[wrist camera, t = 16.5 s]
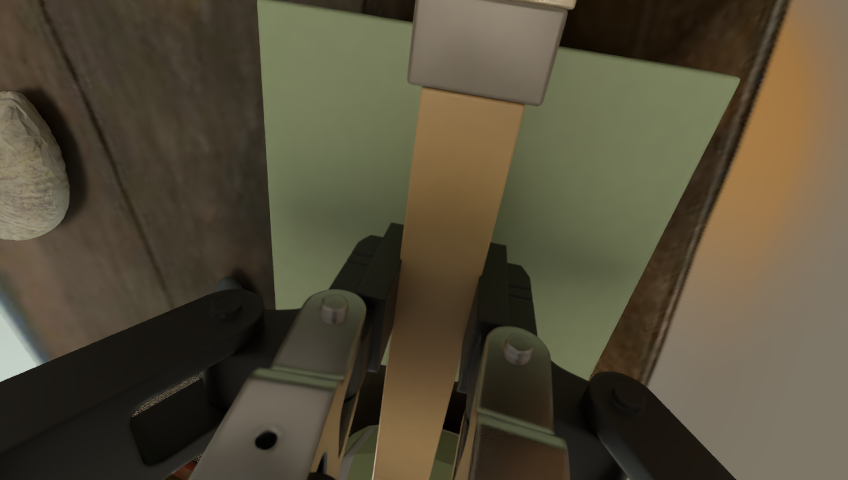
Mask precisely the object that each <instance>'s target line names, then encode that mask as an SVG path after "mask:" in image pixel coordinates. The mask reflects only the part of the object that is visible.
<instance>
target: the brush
mask: <svg viewBox="0 0 848 480" xmlns="http://www.w3.org/2000/svg"><path fill="white" fill-rule="evenodd" d="M575 4H576V0H415V8H414V17H413V26H412V36H411V45H410V54H409V64H408V73H407V82H408V83H409V84H411V85H416V86H422V87H423V88H422V89H421V94H420V102H419V110H418V118H417V126H416V134H415V142H414V150H413V158H412V166H411V174H410V182H409V190H408V198H407V206H406V214H405V222H404V230H403V237H402V245H401V253H400V259H401V260H402V262H401V269H400V277H399V285H398V292H397V300H396V308H395V315H394V323H393V329H392V332H391V335H390V341H389V349H388V357H387V365H386V373H385V381H384V389H383V397H382V405H381V413H380V421H379V429H378V437H377V444H376V452H375V460H374V468H373V476H372V480H429V478H430V474H431V470H432V466H433V462H434V459H435V455H436V451H437V447H438V443H439V439H440V435H441V431H442V428H443V424H444V420H445V416H446V412H447V408H448V404H449V401H450V397H451V393H452V389H453V385H454V381H455V377H456V373H457V370H458V366H459V362H460V358H461V350H462V342H463V338H464V334H465V331H466V327H467V323H468V319H469V315H470V311H471V307H472V303H473V299H474V296H475V292H476V288H477V284H478V280H479V276H481V275H482V273H483V269H484V265H485V261H486V257H487V254H488V250H489V246H490V242H491V238H492V234H493V230H494V226H495V223H496V219H497V215H498V211H499V207H500V203H501V199H502V195H503V192H504V188H505V184H506V180H507V176H508V172H509V168H510V165H511V161H512V157H513V153H514V149H515V145H516V141H517V137H518V134H519V130H520V126H521V122H522V118H523V114H524V110H525V105H524V104H526V105H532V106H541V105H542V104H543V101H544V98H545V94H546V91H547V87H548V83H549V80H550V76H551V73H552V69H553V66H554V62H555V58H556V55H557V51H558V48H559V44H560V41H561V37H562V33H563V30H564V26H565V23H566V19H567V15H568V13H567V10H571V9H573V8H574V7H575Z"/></svg>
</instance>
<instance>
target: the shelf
mask: <svg viewBox="0 0 848 480" xmlns="http://www.w3.org/2000/svg"><path fill="white" fill-rule="evenodd" d="M257 7H258V24H259V40H260V56H261V73H262V89H263V106H264V122H265V138H266V155H267V171H268V187H269V204H270V220H271V236H272V253H273V269H274V286H275V302H276V310H285V309H297V308H301V307H302V305H303V304H304V302H305V301H306V300H307V299H308V298H309V297H310V296H312V295H313V294H315V293H317V292H320V291H324V290H328V289H329V288H330V286H331V284H332V283H333V281H334V280H335V278H336V276H337V275H338V273H339V272H340V270H341V268H342V267H343V265H344V264H345V262H347V259H348V257H349V256H350V254H352V251H353V249H354V248H355V246H356V245H357V243H358V242H359V241H361V240H362V239H364V238H366V237H367V236H369V235H374V236H379V237H384V235H385V233H386V231H387V229H388V227H389V225H390V223H391V222H393V223H398V224H403V225H404V222H405V214H406V206H407V198H408V190H409V182H410V174H411V166H412V158H413V150H414V142H415V134H416V126H417V118H418V110H419V102H420V94H421V89H422V88H423V87H422V86H416V85H411V84H409V83H408V82H407V73H408V64H409V54H410V45H411V36H412V26H413V22H409V21H403V20H397V19H391V18H385V17H379V16H373V15H366V14H360V13H354V12H348V11H342V10H336V9H330V8H324V7H318V6H312V5H306V4H300V3H294V2H288V1H281V0H258V1H257ZM739 82H740V78H738V77H736V76H732V75H727V74H723V73H718V72H713V71H707V70H701V69H694V68H688V67H682V66H676V65H670V64H664V63H658V62H652V61H646V60H640V59H634V58H628V57H622V56H615V55H609V54H603V53H597V52H591V51H585V50H579V49H573V48H567V47H561V46H559V48H558V51H557V55H556V58H555V62H554V66H553V69H552V73H551V76H550V80H549V83H548V87H547V91H546V94H545V98H544V101H543V104H542V105H541V106H532V105H526V104H524V105H525V110H524V114H523V118H522V122H521V126H520V130H519V134H518V137H517V141H516V145H515V149H514V153H513V157H512V161H511V165H510V168H509V172H508V176H507V180H506V184H505V188H504V192H503V195H502V199H501V203H500V207H499V211H498V215H497V219H496V223H495V226H494V230H493V234H492V238H491V242H492V243H497V244H502V245H506V246H507V263H511V264H516V265H521V266H522V267H523V268H524V270H525V271H526V272H527V274H528V275H529V277H530V281H531V291H532V296H533V304H534V312H535V319H536V327H537V335H538V338H539V339H541V340H542V341H543V343H544V344H545V345H546V346H547V348H548V350H549V352H550V357H551V360H552V361H553V362H554V363H555V364H557V365H558V366H560V367H561V368H563V369H565V370H566V371H568V372H570V373H573V374H575V375H577V376H579V377H581V378H583V379H585V380H587V381H588V380H589V378H590V376H591V374H592V372H593V370H594V368H595V366H596V364H597V362H598V360H599V358H600V356H601V354H602V352H603V350H604V348H605V346H606V344H607V342H608V340H609V338H610V336H611V334H612V332H613V330H614V328H615V326H616V325H617V323H618V321H619V319H620V317H621V315H622V313H623V311H624V309H625V307H626V305H627V303H628V301H629V299H630V297H631V295H632V293H633V291H634V289H635V287H636V285H637V283H638V281H639V279H640V277H641V275H642V273H643V271H644V269H645V267H646V265H647V263H648V261H649V260H650V258H651V256H652V254H653V252H654V250H655V248H656V246H657V244H658V242H659V240H660V238H661V236H662V234H663V232H664V230H665V228H666V226H667V224H668V222H669V220H670V218H671V216H672V214H673V212H674V210H675V208H676V206H677V204H678V202H679V200H680V198H681V196H682V194H683V193H684V191H685V189H686V187H687V185H688V183H689V181H690V179H691V177H692V175H693V173H694V171H695V169H696V167H697V165H698V163H699V161H700V159H701V157H702V155H703V153H704V151H705V149H706V147H707V145H708V143H709V141H710V139H711V137H712V135H713V133H714V131H715V129H716V128H717V126H718V124H719V122H720V120H721V118H722V116H723V114H724V112H725V110H726V108H727V106H728V104H729V102H730V100H731V98H732V96H733V94H734V92H735V90H736V88H737V86H738V84H739ZM389 341H390V338H389ZM389 341H388V344H387V347H386V350H385V353H384V356H383V359H382V361H381V365H387V357H388V349H389ZM460 360H461V358H460ZM459 369H460V362H459V366H458V370H457V373H456V377H455V381H456V382H458V378H459Z"/></svg>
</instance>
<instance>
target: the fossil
mask: <svg viewBox="0 0 848 480" xmlns="http://www.w3.org/2000/svg"><path fill="white" fill-rule="evenodd" d="M65 167H66V165H65V162H64V160H63V158H62V156H61V150H60V147H59V145H58V144H57V142H56V140H55V138H54V137H53V135H52V134H51V129H50V128H49V127H48V125H47V123H46V122H45V121H44V120H43V119H42V117H41V116H40V114H39V113H38V111H37V110H36V108H35V107H34V105H33V104H31V103H30V102H29V101H28V100H27V98H26V97H25V96H24V95H23V94H22V93H19V92H17V91H9V92H5V91H2V92H0V238H1V239H7V240H9V239H10V240H19V241H21V240H25V239H31V238H35V237H38V236H40V235H43V234H45V233H48V232H49V231H51V230H52V229H54V228H55V227H56V226H57V225H58V224H59V223H60V222H61V221H62V220H63V219H64V216H65V214H66V211H67V210H68V206H69V200H70V196H69V195H70V191H69V188H70V184H69V179H68V177H67V173H66V171H65Z"/></svg>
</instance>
